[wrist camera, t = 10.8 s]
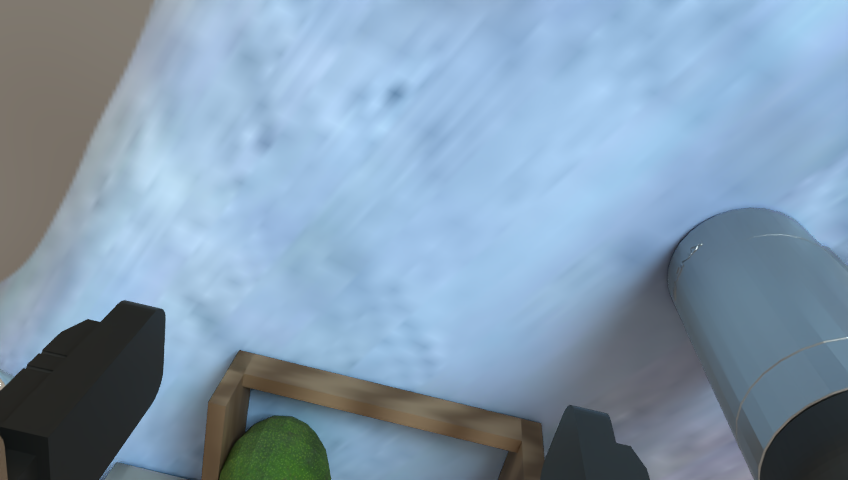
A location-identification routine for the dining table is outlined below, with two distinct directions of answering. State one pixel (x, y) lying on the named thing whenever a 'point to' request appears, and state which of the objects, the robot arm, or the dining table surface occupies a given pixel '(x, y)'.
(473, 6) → the dining table surface
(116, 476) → the grey open rectangular frame
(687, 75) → the dining table surface
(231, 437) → the frame
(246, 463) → the avocado
